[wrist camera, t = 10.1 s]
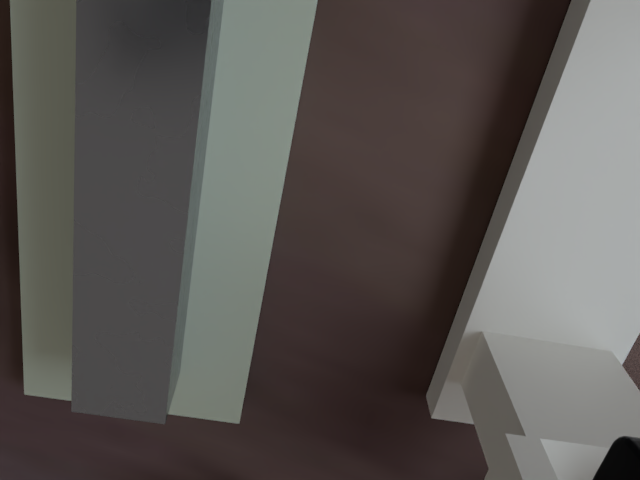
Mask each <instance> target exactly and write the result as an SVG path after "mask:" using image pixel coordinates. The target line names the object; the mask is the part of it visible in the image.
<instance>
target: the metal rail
mask: <svg viewBox="0 0 640 480" xmlns="http://www.w3.org/2000/svg"><path fill="white" fill-rule="evenodd" d="M223 5H224V0H76V70H75V151H74V233H73V314H72V396H71V412H78V413H85V414H93V415H100V416H108V417H115V418H122V419H130V420H137V421H144V422H152V423H159V424H165V423H166V419H167V416H168V412H169V409H170V406H171V402H172V399H173V395H174V392H175V388H176V385H177V381H178V378H179V374H180V367H181V359H182V350H183V342H184V333H185V325H186V317H187V308H188V300H189V291H190V283H191V274H192V266H193V258H194V249H195V241H196V232H197V224H198V215H199V207H200V199H201V190H202V182H203V173H204V165H205V156H206V148H207V139H208V131H209V123H210V114H211V106H212V97H213V89H214V80H215V72H216V64H217V55H218V47H219V38H220V30H221V21H222V13H223Z"/></svg>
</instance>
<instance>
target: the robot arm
mask: <svg viewBox="0 0 640 480" xmlns="http://www.w3.org/2000/svg"><path fill="white" fill-rule="evenodd" d="M593 480H640V438H637V437H630V436H621V437H619V438H617V439H616V440H615V441H614V442H613V443H612V445H611V447H610V449H609V450H608V452H607V454H606V456H605V458H604V459H603V461H602V463H601V465H600V467H599V468H598V470H597V472H596V474H595V476H594V478H593Z"/></svg>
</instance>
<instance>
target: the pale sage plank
mask: <svg viewBox="0 0 640 480" xmlns="http://www.w3.org/2000/svg"><path fill="white" fill-rule="evenodd" d="M317 1H318V0H224V5H223V13H222V21H221V30H220V38H219V47H218V55H217V64H216V72H215V80H214V89H213V97H212V106H211V114H210V123H209V131H208V139H207V148H206V156H205V165H204V173H203V182H202V190H201V199H200V207H199V215H198V224H197V232H196V241H195V249H194V258H193V266H192V274H191V283H190V291H189V300H188V308H187V317H186V325H185V333H184V342H183V350H182V359H181V367H180V374H179V378H178V381H177V385H176V388H175V392H174V395H173V399H172V402H171V406H170V409H169V412H168V414H171V415H178V416H185V417H193V418H200V419H207V420H215V421H222V422H229V423H237V424H239V423H240V417H241V412H242V407H243V401H244V396H245V390H246V385H247V380H248V374H249V369H250V363H251V358H252V353H253V347H254V342H255V336H256V331H257V326H258V320H259V315H260V309H261V304H262V299H263V293H264V288H265V282H266V277H267V271H268V266H269V261H270V255H271V250H272V244H273V239H274V234H275V228H276V223H277V217H278V212H279V207H280V201H281V196H282V190H283V185H284V180H285V174H286V169H287V163H288V158H289V153H290V147H291V142H292V136H293V131H294V126H295V120H296V115H297V109H298V104H299V98H300V93H301V88H302V82H303V77H304V71H305V66H306V61H307V55H308V50H309V44H310V39H311V34H312V28H313V23H314V17H315V12H316V7H317ZM10 19H11V46H12V74H13V101H14V128H15V155H16V183H17V210H18V237H19V264H20V292H21V319H22V346H23V373H24V395H32V396H39V397H46V398H54V399H61V400H68V401H71V396H72V314H73V233H74V151H75V70H76V0H10Z"/></svg>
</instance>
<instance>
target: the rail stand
mask: <svg viewBox="0 0 640 480" xmlns="http://www.w3.org/2000/svg"><path fill="white" fill-rule="evenodd" d="M639 333H640V0H571V2H570V5H569V8H568V11H567V13H566V16H565V19H564V22H563V24H562V27H561V30H560V32H559V35H558V38H557V41H556V43H555V46H554V49H553V51H552V54H551V57H550V60H549V62H548V65H547V68H546V70H545V73H544V76H543V79H542V81H541V84H540V87H539V90H538V92H537V95H536V98H535V100H534V103H533V106H532V109H531V111H530V114H529V117H528V119H527V122H526V125H525V128H524V130H523V133H522V136H521V138H520V141H519V144H518V147H517V149H516V152H515V155H514V158H513V160H512V163H511V166H510V168H509V171H508V174H507V177H506V179H505V182H504V185H503V187H502V190H501V193H500V196H499V198H498V201H497V204H496V206H495V209H494V212H493V215H492V217H491V220H490V223H489V226H488V228H487V231H486V234H485V236H484V239H483V242H482V245H481V247H480V250H479V253H478V255H477V258H476V261H475V264H474V266H473V269H472V272H471V275H470V277H469V280H468V283H467V285H466V288H465V291H464V294H463V296H462V299H461V302H460V304H459V307H458V310H457V313H456V315H455V318H454V321H453V323H452V326H451V329H450V332H449V334H448V337H447V340H446V343H445V345H444V348H443V351H442V353H441V356H440V359H439V362H438V364H437V367H436V370H435V372H434V375H433V378H432V381H431V383H430V386H429V389H428V391H427V394H426V398H427V403H428V407H429V411H430V415H431V418H433V419H440V420H447V421H455V422H462V423H469V424H474V425H475V428H476V432H477V435H478V438H479V441H480V444H481V447H482V450H483V453H484V456H485V459H486V462H487V466H488V469H489V470H488V472H487V474H486V476H485V478H484V480H593V478H594V476H595V474H596V472H597V470H598V468H599V467H600V465H601V463H602V461H603V459H604V458H605V456H606V454H607V452H608V450H609V449H610V447H611V445H612V443H613V442H614V441H615V440H616V439H617V438H619V437H621V436H630V437H637V438H640V391H639V389H638V388H637V386H636V385H635V384H634V382H633V381H632V379H631V378H630V376H629V375H628V374H627V372H626V371H625V369H624V368H623V366H622V364H623V362H624V361H625V359H626V357H627V355H628V353H629V351H630V350H631V348H632V346H633V344H634V342H635V341H636V339H637V337H638V335H639Z"/></svg>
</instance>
